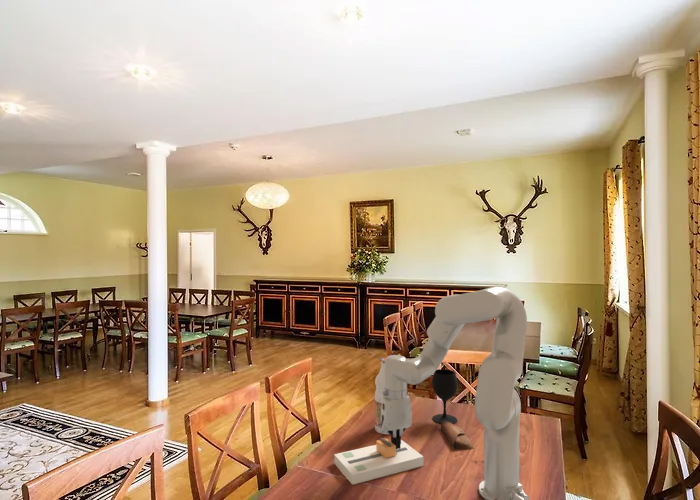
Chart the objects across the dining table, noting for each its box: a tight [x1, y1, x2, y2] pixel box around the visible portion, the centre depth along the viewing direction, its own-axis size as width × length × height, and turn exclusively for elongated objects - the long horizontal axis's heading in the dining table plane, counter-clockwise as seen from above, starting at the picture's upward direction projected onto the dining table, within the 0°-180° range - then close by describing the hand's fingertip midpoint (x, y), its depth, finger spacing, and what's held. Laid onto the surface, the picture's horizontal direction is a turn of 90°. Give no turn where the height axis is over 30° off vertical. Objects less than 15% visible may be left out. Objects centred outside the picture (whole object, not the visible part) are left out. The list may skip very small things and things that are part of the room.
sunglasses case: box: [440, 421, 475, 451], centre depth 156 cm, size 18×7×7 cm
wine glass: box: [431, 368, 458, 425], centre depth 173 cm, size 10×10×20 cm
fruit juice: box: [374, 357, 390, 435], centre depth 163 cm, size 9×9×28 cm
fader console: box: [333, 439, 425, 486], centre depth 137 cm, size 26×14×3 cm, turn 115°
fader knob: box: [375, 437, 396, 458], centre depth 138 cm, size 4×6×4 cm, turn 25°
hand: (395, 447), depth 140 cm, fingers closed
